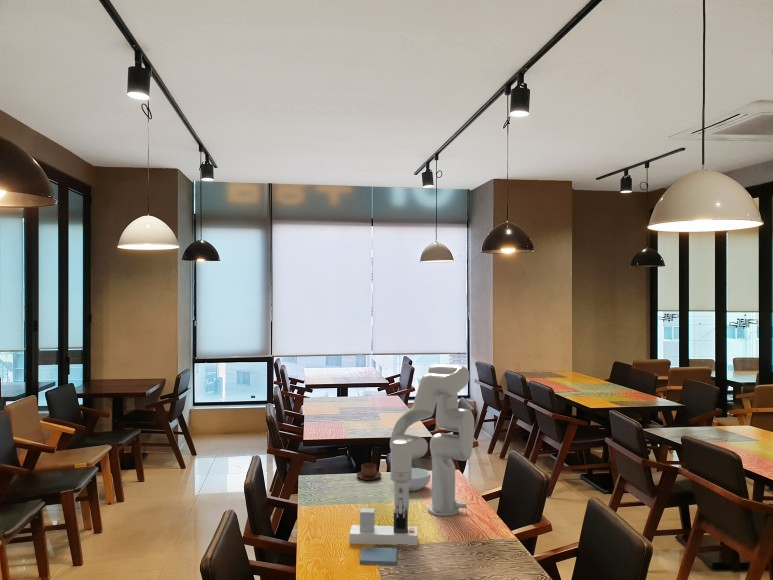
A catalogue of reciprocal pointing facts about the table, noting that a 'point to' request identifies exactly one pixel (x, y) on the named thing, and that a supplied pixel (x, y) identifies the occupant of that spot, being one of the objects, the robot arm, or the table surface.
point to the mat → (378, 555)
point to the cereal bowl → (418, 479)
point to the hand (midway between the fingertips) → (400, 525)
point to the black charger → (405, 522)
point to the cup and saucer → (368, 472)
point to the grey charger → (367, 519)
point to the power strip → (382, 536)
